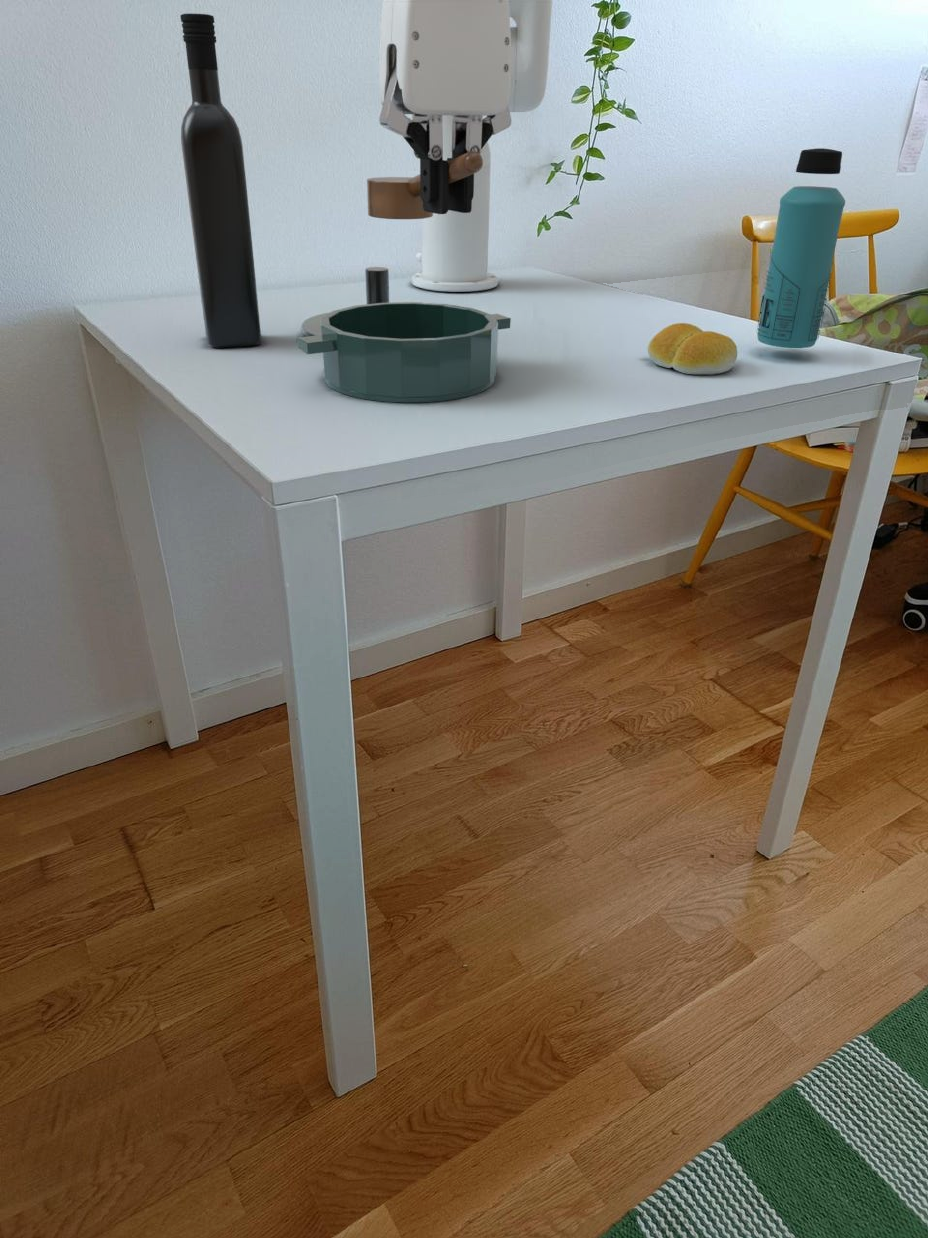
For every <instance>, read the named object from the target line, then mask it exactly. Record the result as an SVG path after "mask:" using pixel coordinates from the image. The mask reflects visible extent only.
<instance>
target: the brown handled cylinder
mask: <svg viewBox="0 0 928 1238" xmlns="http://www.w3.org/2000/svg"><path fill="white" fill-rule="evenodd" d="M448 164H449V169H448V171H449V184H450V183H453V182H455V181H458V180H460V179H462V178H465V177H467V176H470V175H472V174H475V173H477V172H478V171H480V169H481V168H482V166H483V158H482V156H481V155H480V153H478V152H476V151H470V152H467V153H465V154H463V155H461V156H459V157H457V158H454V159H452V160H450V161H448ZM366 191H367V215H368V216H369V217H371V218H377V219H382V220H383V219H384V220H385V219H386V220H422V219H424V218H430V217H432V216H433V213H431V212H426V211H424V209H423V201H422V200H421V195H420V174H417V175H415V176H413V177H408V176H386V177H385V176H379V177H368V178H367V179H366Z"/></svg>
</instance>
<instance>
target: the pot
mask: <svg viewBox="0 0 928 1238" xmlns="http://www.w3.org/2000/svg"><path fill="white" fill-rule="evenodd" d="M327 313H328V314H327V315H325V316H323V317H322V318H320V321H321V335H316V336H301V337H297V338H296V342H297V350H299V351H301V352H303V353H305V354H307V355H314V354H321V353H322V364H323V365H322V366H323V374H324V375H323V376H324V382H325V384H326V385H327V386H328V387H329V388H330V389H332V390H334V391H336V392H338V393H340V394H343V395H346V396H348V397H349V396H350V397H353V398H356V399H363V400H369V401H376V402H384V403H401V404H402V403H403V404H404V403H406V404H408V403H411V404H412V403H413V404H415V403H435V402H445V401H450V400H451V401H453V400H457V399H462V398H466V397H467V398H468V397H470V396H471V397H472V396H473V395H476V394H479V393H482V392H484V391H486V390H488V389H490V387H492V386H493V384H494V383H495V377H496V375H497V367H498V365H497V362H498V334H499V330H507V329H510V328H511V322H512V321H511V320H512V318H511V317H508V316H506V315H503V314H499V313H493V314H491V313H488V312H485V311H482V310H479V309H476V308H472V307H467V306H462V305H461V306H460V305H454V304H448V303H438V302H437V303H435V302H422V301H421V302H418V301H404V302H403V301H402V302H401V301H400V302H399V301H397V302H396V301H395V302H389V303H376V304H367V303H365V304H357V305H352V306H348V307H344V308H339V309H335V310H332V311H330V313H329V312H327Z"/></svg>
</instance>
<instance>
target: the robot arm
mask: <svg viewBox="0 0 928 1238" xmlns="http://www.w3.org/2000/svg"><path fill="white" fill-rule="evenodd" d="M381 6H382V7H381V16H380V31H379V33H380V34H379V54H378V55H379V56H378V59H379V60H378V93H379V100H380V101H379V102H380V104H381V106H382V107H381V111H380V115H379V119H378V120H379V121H378V122H379V124H380V126H381V127H383V128H385V129H386V130H389V131H391V132H393V133H395V134H397V135H398V136H399V135H400V136H401V137H402V138H403V139H404V140H405V141H406V143H407V144H408V145H409V146H410V148H411V149H412V150H413V154H414V155H413V156H415V158H417V159H419V173H420V195H421V200H422V201H423V209H424V211H426V212H431V213H433V216H432V217H430V218H424V219H421V244H422V245H421V251H419V252H417V253H416V255H415V259H416V261H417V262H419V263H421V271H419V272H416V273H414V274H413V275H412V276H411V284H412V285H413V287H416V288H419V289H422V290H427V291H434V292H435V291H436V292H449V293H450V292H453V293H466V292H480V291H486V290H487V291H488V290H491V289H495V288H496V287H497V286H498V284H499V277H498V276H497V275H496V274H493V273H491V272H488V269H489V268H488V267H489V234H490V233H489V232H490V231H489V229H490V198H491V195H490V194H491V162H492V161H491V159H492V157H491V156H492V155H491V147H490V144H489V142H488V141H489V140H490V139H491V137H492V136H493V135H494V136H495V135H497V134H498V133H500V132H503V131H505V130H507V129H508V128H510V127H511V125H512V116H511V113H527V112H532V111H534V110H536V109H537V108H538V107H539V106H540V105H541V103H542V102H543V100H544V97H545V94H546V89H547V81H548V72H549V59H550V58H549V57H550V42H551V27H552V13H553V12H552V9H553V0H382V5H381ZM511 19H512V20H513V22H515V25H516V26H511ZM407 115H412V117H411V118H410V117H408V116H407ZM483 117H484V118H483ZM470 151H476V152H478V153H480V155H481V156H482V158H483V166H482V168H481V169H480V171H478V172H477V173H475V174H472V175H470V176H467V177H465V178H462V179H460V180H458V181H455V182H453V183H450V184H449V171H448V169H449V164H448V161H450V160H452V159H454V158H457V157H459V156H461V155H463V154H465V153H467V152H470Z"/></svg>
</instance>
